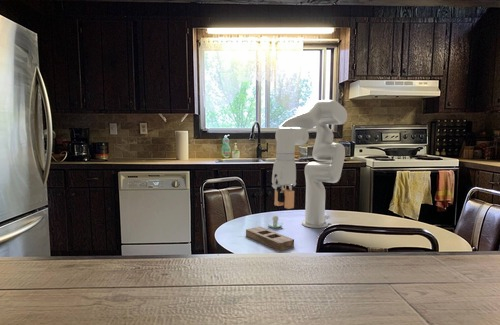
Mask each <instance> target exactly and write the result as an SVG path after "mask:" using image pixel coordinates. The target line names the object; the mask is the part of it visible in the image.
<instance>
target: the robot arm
mask: <svg viewBox="0 0 500 325" xmlns="http://www.w3.org/2000/svg"><path fill="white" fill-rule="evenodd" d="M347 119H348V112H347V110H346V108H345V107H344V106H343V105H342V104H341V103H340V102H338V101H336V100H333V99H321V100H319V99H317V100H313V101H312V102H310V103H309V105H308V106H307V107H306V108H305V109H304V110H303V111H302V112H301V113H299V114H297V115H295V116H293V117H291V118H288V119H286V120H285V121H283V122H282V123H281V124H280V125H279V126H278V127H277V129H276V131H275V137H274V138H275V141H276V152H275V153H276V154H275V155H276V156H275V160H274V162H273V167H272V174H271V183H272V184H271V187H272V188H273V189H274V190H275V189H276V190H277V192H278V202H282V203H283V202H284V203H285V196H284V193H283V189H287V190H292V191H293V188H294V187H296V185H297V182H296V181H297V165H296V161H295V157H296V154H295V152H296V146H303V145H305V144H306V143H307V142H308V141H309V139H310V136H309V132H308V131H309V130H311V129H313V128H315V130H316V137H315V140H314V143H313V144H314V145H313V149H312V155H311V156H312V158H313V159H314V160H315V161H310V162H308V163H306V164H305V166H304V177H305V207H304V209H305V212H304V214H305V215H304V219H303V220H302V221H301V225H302V226H304V227H306V228H313V229H321V228H326V227H328V222H327V220H329V219H331V216H330V215H329V214H328V215H325V212H326V210H325V209H326V189H325V186H324V183H331V184H335V183H336V184H337V183H338V182H339V181H340V179H341V176H342V171H343V166H344V162H345V157H346V148H345V146H344V145H343V144H342V143H339V142H334V138H335V137H334V136H335V135H334V133H333V131H332V130H331V128H330V127H329V125H331V126H332V125H336V126H337V125H339V126H340V125H343V124H345V123H346V122H347V121H348V120H347Z"/></svg>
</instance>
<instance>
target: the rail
mask: <svg viewBox="0 0 500 325" xmlns="http://www.w3.org/2000/svg"><path fill="white" fill-rule="evenodd" d="M245 237H247V238H249V239H252V240H255V241H257V242H259V243H260V244H262V245H266V246H268V247H270V248H272V249H274V250H276V251H278V250H279V251H283V250H287V249H291V248H295V239H293V238H291V237H288V236H286V235H284V234H280V233H278V232H276V231H273V230H270V229H268V228H265V227H262V226H256V227H252V228H246V229H245Z"/></svg>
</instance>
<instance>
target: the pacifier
mask: <svg viewBox="0 0 500 325" xmlns="http://www.w3.org/2000/svg"><path fill="white" fill-rule="evenodd" d="M271 219H272V223H271V222H267V225H268V227H270V228H272V229H279V228H281V227H282V226H283V225H284V223H283V222H279V223H278V221H279V216H278V215H273V216H272V218H271Z"/></svg>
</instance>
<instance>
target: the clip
mask: <svg viewBox="0 0 500 325" xmlns="http://www.w3.org/2000/svg"><path fill="white" fill-rule="evenodd" d="M283 193H284V196H285V201H284V202H283V203H282V202H278V192H277V190H276V189H275V188H274V203H273V204H274V206H277V207H281V206H284V209H286V210H290V209H294V208H295V190H293V189H292V190H287V189H285V188H284V189H283Z"/></svg>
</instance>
